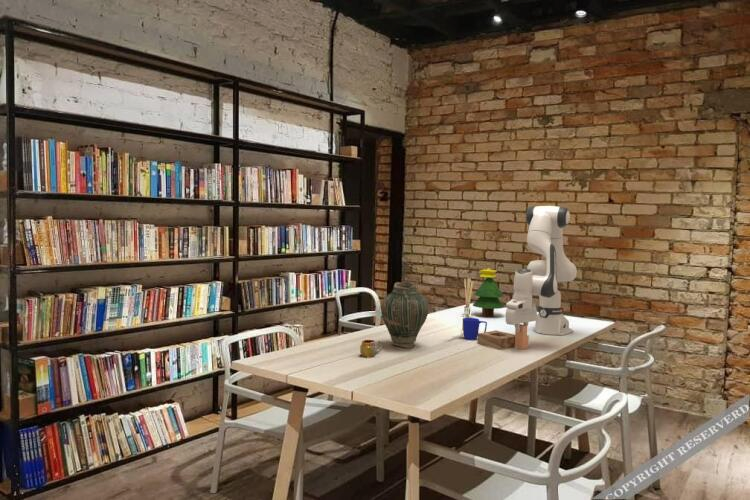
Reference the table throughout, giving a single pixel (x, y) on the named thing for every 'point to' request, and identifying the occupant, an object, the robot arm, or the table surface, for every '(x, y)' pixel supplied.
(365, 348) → the mug
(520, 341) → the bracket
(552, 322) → the robot arm
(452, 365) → the table surface
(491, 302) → the decorative tree
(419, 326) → the vase
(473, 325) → the mug
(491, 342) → the wooden tray
